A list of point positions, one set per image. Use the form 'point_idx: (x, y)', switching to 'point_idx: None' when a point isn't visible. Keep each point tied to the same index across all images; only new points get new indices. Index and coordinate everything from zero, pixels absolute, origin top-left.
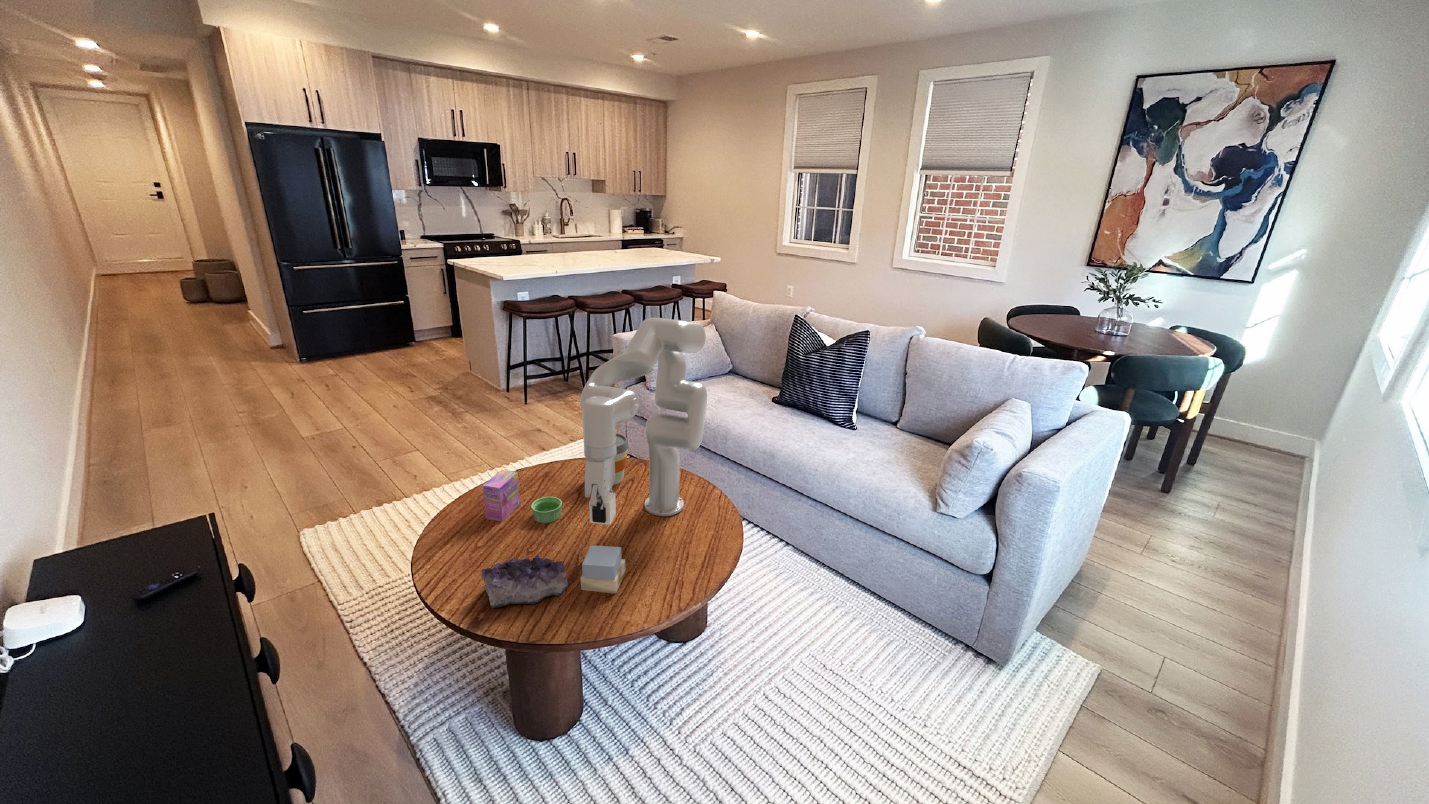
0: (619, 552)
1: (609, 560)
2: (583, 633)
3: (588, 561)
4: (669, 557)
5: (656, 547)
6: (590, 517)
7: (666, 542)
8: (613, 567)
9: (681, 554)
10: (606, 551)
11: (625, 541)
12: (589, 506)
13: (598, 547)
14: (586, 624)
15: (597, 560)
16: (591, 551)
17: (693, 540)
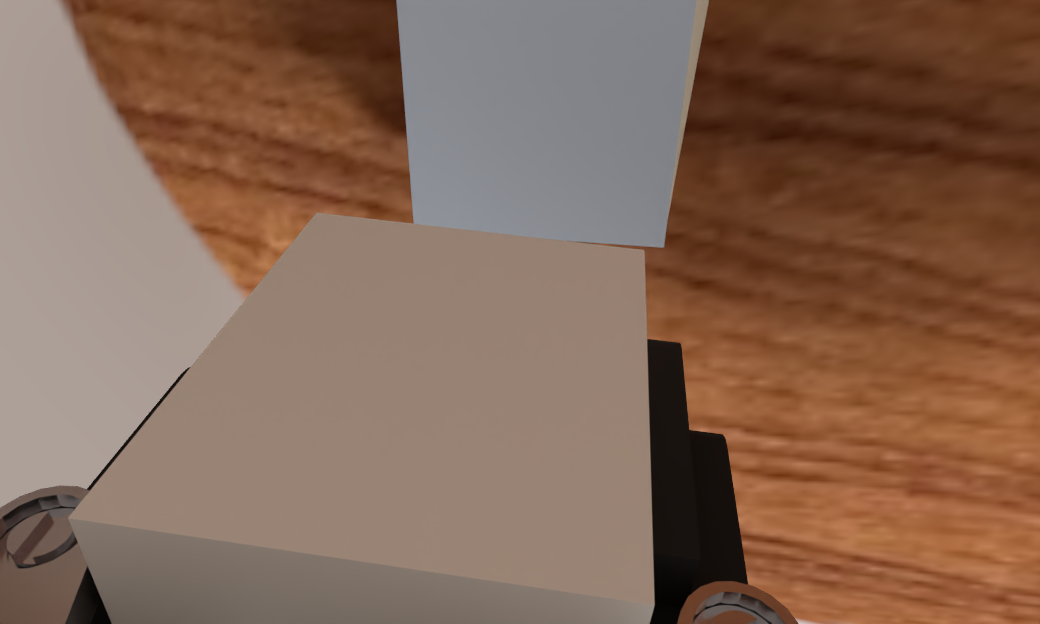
0: (598, 241)
1: (482, 185)
2: (103, 31)
3: (443, 9)
4: (786, 400)
5: (903, 333)
6: (279, 272)
7: (949, 383)
8: (416, 221)
9: (808, 451)
10: (602, 140)
11: (1031, 130)
12: (154, 414)
13: (660, 56)
14: (168, 32)
15: (469, 88)
16: (594, 2)
17: (938, 504)
